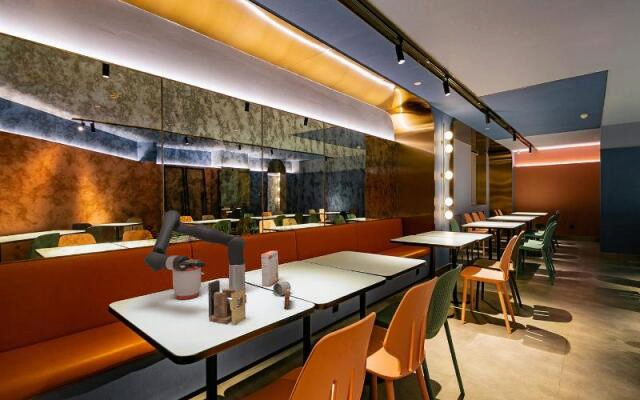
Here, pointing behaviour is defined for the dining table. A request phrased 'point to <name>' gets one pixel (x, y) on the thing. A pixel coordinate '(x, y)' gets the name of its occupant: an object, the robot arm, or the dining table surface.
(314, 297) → the dining table surface
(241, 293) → the tan wooden flat panel
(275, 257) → the cracker box
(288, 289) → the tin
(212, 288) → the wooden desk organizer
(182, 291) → the citrus juicer
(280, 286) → the ceramic mug
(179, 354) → the dining table surface
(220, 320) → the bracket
